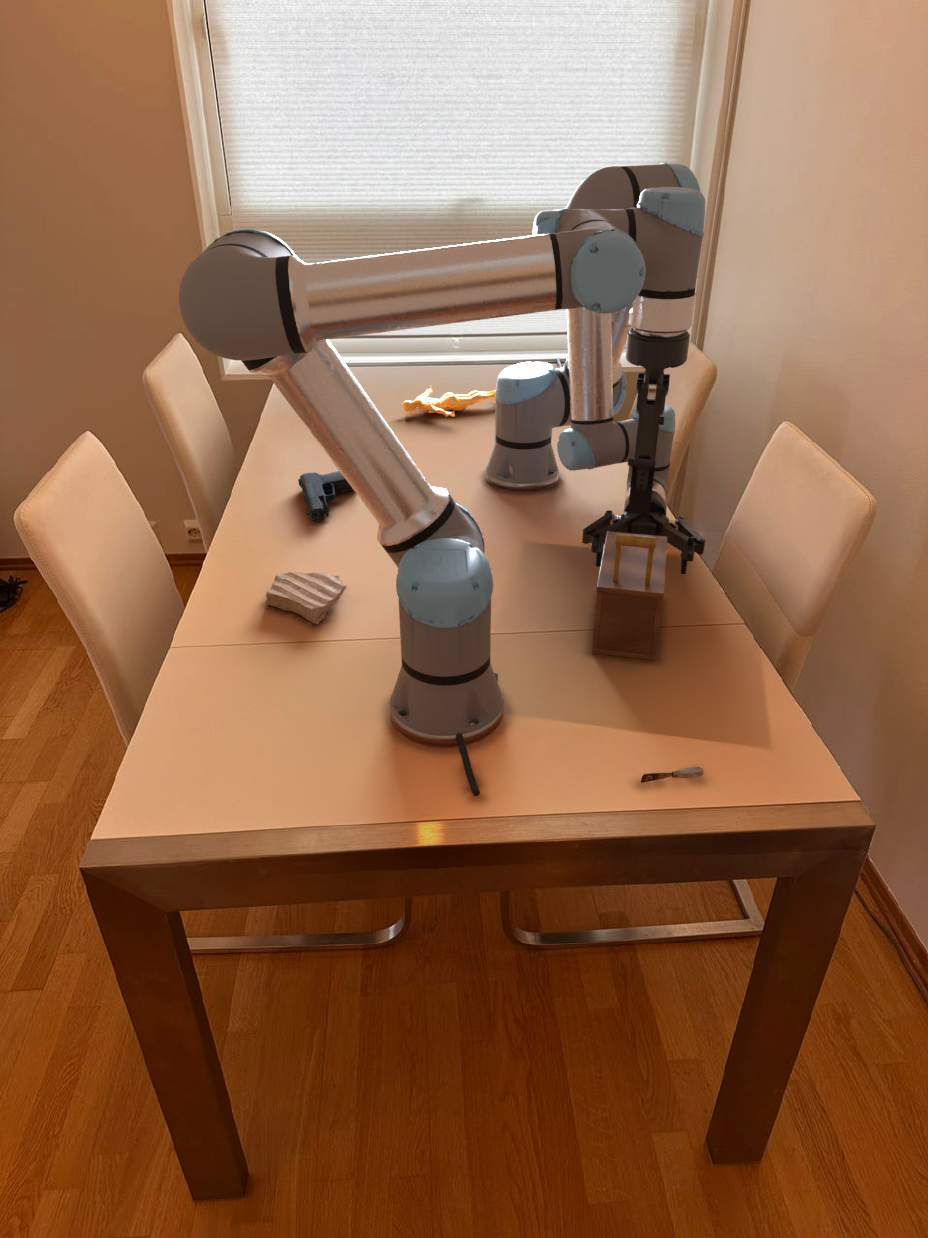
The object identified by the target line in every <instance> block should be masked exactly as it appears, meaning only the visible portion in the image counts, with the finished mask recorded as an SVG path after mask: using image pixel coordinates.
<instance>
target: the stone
mask: <svg viewBox="0 0 928 1238" xmlns="http://www.w3.org/2000/svg"><path fill="white" fill-rule="evenodd" d="M346 589H347V585H346V583H345V582H343V580H341V579H340V575H332V574H329V573H326V572H320V571H318V572H315V571H314V572H308V573H306V572H300V571H289V572H287V573H281V572H279V573H277V574H275V576H274V579H273V581H272V584H271V587H270V590H268V591H267V592H266V594H265V597H266V600H265V604H266V605H267V606H268V605H269V606H271V607H275V608H278V609H281V610H282V611H289V612H292V613H296V614H297V615H299V616H301V617H302V618H304V619H305V620H307V621H309V622H311V623H312V624H315V625H319V624H320V622H321V621H323V620H324V619H325V618H326V615H327V612H328V611H329V609H330V607H332V606H333V605H334V603H335V602H336V601H338V600H339V599H340V598H341V596H342V595H343V593H344V591H345V590H346Z"/></svg>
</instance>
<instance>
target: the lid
mask: <svg viewBox="0 0 928 1238" xmlns="http://www.w3.org/2000/svg"><path fill="white" fill-rule="evenodd" d="M667 551H668V543H667V537H665V536H654V535H643V534H632V533H621V532H610V531H607V535H606V541H605V544H604V546H603V553H602V560H601V566H600V567H599V574H598V579H597V582H596V583H597V584H596V590H595V591H596V593H597V592H598V593H608V594H617V595H627V596H636V597H646V598H656V599H663V600H664V597H665V586H666V585H665V584H666V567H667Z"/></svg>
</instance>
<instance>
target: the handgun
mask: <svg viewBox="0 0 928 1238" xmlns="http://www.w3.org/2000/svg"><path fill="white" fill-rule="evenodd" d="M298 486H299V487H300V488H301V490H302V493H303V497H304V500H305V503H306V506H307V509H308V511H307V512H306V515H307V516H310V519H311V520H312V521H314V522H322V521H324V520H325V515H326V517H329V506H328V503H329V502H334V501H336V494H341V493H346V492H350V491H354V490H353V488H352V487H351V486H350V484H349V483H348V482H347V480H346V479H345V477H344V476H343V475H342V473H341V472H340V471H339V470H336V471H333V472H329V473H325V474H320V473H318V472H316V471H315V472H305V473H303V474H301V475H300V476H299V478H298Z"/></svg>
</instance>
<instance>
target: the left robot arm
mask: <svg viewBox="0 0 928 1238" xmlns="http://www.w3.org/2000/svg"><path fill="white" fill-rule="evenodd" d="M705 216H706V198H705V196H704V194H703V193H702V192H701V191H700V192H699V191H698V190H695V189H690V188H682V187H659V188H648V189H645V190H644V191H642V193H641V194H640V199H639V202H638V203H637V208H630V209H567V208H566V207H562V208H561V209H550V210H541V211H539V212H538V213H537V214H536V215H535V218H534V221H533V224H532V235H526V236H525V235H524V236H518V237H512V238H511V237H510V238H509V237H508V238H502V239H496V240H495V239H493V240H487V241H486V240H485V241H478V242H471V243H463V244H456V245H447V246H439V247H431V248H423V249H416V250H408V251H400V252H399V251H398V252H393V253H384V254H377V255H376V254H375V255H367V256H360V257H353V258H345V259H337V260H336V259H335V260H330V261H321V262H313V263H306V262H304V261H303V260H301V259H300V258H299V257H298V256H297V255H296V254H295V252H294V251H293V250H292V248H291V247H290V246H289V245H288V244H287V243H286V242H285V241H283V240H282V239H281V238H279V237H278V236H276V235H275V234H273V233H271V232H268V231H265V230H262V229H255V228H242V229H237V230H236V229H235V230H232V231H228V232H226V233H225V234H223V235H221V236H220V237H216V238H215V240H214V241H213V242H212V243H210V244H209V245H208V246H207V247H206V248H205V249H204V250H203V251H202V252H201V254H199V255H198V256H197V257H196V258H194V259H193V260H192V261H191V262H190V264H189V265H188V267H187V268H186V269H185V271H184V273H183V276H182V278H181V280H180V284H179V290H178V306H179V311H180V315H181V319H182V321H183V323H184V325H185V328H186V330H187V331H188V332H189V334H190V336H191V337H192V338H193V339H194V340H195V341H196V343H198V344H199V345H200V346H201V347H203V349H205V350H206V351H208V352H210V353H211V354H213V355H215V356H217V357H220V358H223V359H227V360H232V361H240V362H241V363H242V364H243V365H244V367H245V368H246V369H247V370H248V371H249V372H250V373H252V374H258V375H264V376H266V377H269V379H270V380H271V382H272V383H273V384H274V385H275V387H276V388H277V390H279V392H280V394H281V395H282V396H283V398H284V400H286V401H287V403H288V404H289V406H290V407H291V408H292V409H293V411H294V412H295V414H296V415H297V417H298V418H299V419H300V421H301V422H302V423H303V424H304V425H305V427H306V429H307V430H308V432H310V434H311V435H312V436H313V437H314V439H315V440H316V442H317V443H318V445H320V447H321V448H322V449H323V451H324V452H325V453H326V455H327V456H328V457H329V459H330V460H331V461H332V463H333V464H334V466H335V467H336V468H337V469H338V471H340V472H341V473H342V475H343V476H344V477H345V479H346V480H347V482H348V483H349V484H350V486H351V487H352V488H353V490H352V491H354V492H355V494H356V495H357V496H358V498H359V499H360V500H361V502H362V503H363V505H364V506H365V507H366V508H367V510H368V511H369V512H370V514H371V515H372V517H373V518H374V519H375V520H376V522H377V524H378V528H377V535H376V539H377V541H378V543H379V544H380V546H381V547H382V548H383V549H384V551H385V552H386V553H387V555H388V556H389V558H390V559H391V560H392V561H393V563H394V564H395V565H396V567H397V574H396V580H395V587H396V588H395V589H396V595H397V597H398V614H399V615H398V616H399V633H400V634H399V635H400V652H401V653H400V655H401V667H400V669H399V672H398V675H397V678H396V681H395V684H394V687H393V690H392V693H391V695H390V700H389V706H390V718H391V721H392V724H393V725H394V727H395V728H396V729H397V731H398V732H399V733H400V734H402V735H403V736H404V737H406V738H407V739H409V740H411V741H413V742H415V743H417V744H420V745H421V744H422V745H425V746H430V747H437V748H454V747H455V748H457V747H458V750H459V751H458V752H459V754H460V758H461V761H462V765H463V769H464V773H465V776H466V779H467V782H468V785H469V788H470V791H471V794H472V796H474V797H479V796H480V794H481V791H480V787H479V785H478V783H477V782H478V781H477V779H476V777H475V774H474V771H473V766H472V764H471V760H470V755H469V752H468V749H467V745H471V744H473V743H476V742H480V741H481V740H483V739H485V738H486V737H488V736H489V735H491V734H492V733H493V732H494V731H495V730H496V729H498V727H499V726H500V724H501V722H502V720H503V717H504V702H505V701H504V696H503V695H504V694H503V693H502V690H501V687H500V685H499V674H498V673H496V672H494V668H493V666H492V664H491V654H492V653H491V651H492V649H491V648H492V647H491V645H492V643H491V642H492V641H491V640H492V595H493V589H494V580H493V573H492V569H491V564H490V562H489V559H488V557H487V556H486V554H485V553H486V552H485V549H486V548H485V547H486V546H485V539H484V537H483V532H482V529H481V527H480V525H479V523H478V522H477V520H476V519H475V517H474V516H473V515H472V513H471V512H470V511H469V510H468V509H467V508H465V506H463V505H461V504H459V503H457V502H456V501H455V500H454V497H452V495H451V494H450V492H449V491H448V490H447V488H443V487H439V486H438V487H437V486H431V485H430V483H429V482H428V480H427V479H426V478H425V476H424V474H423V473H422V472H421V470H420V469H419V467H418V466H417V464H416V463H415V461H414V460H413V458H412V457H411V456H410V455H409V453H408V452H407V450H406V448H405V447H404V446H403V444H402V442H401V441H400V440H399V439H398V437H397V435H396V434H395V433H394V431H393V430H392V428H391V427H390V426H389V424H388V422H386V420H385V418H384V417H383V415H382V414H381V413H380V411H379V410H378V409H377V407H376V406H375V404H374V403H373V401H372V400H371V398H370V396H368V394H367V392H366V391H365V390H364V388H363V387H362V385H361V384H360V382H359V381H358V379H357V378H356V377H355V375H354V374H353V373H352V371H351V369H350V368H349V366H348V365H347V364H346V362H345V361H344V360H343V358H342V357H341V355H340V354H339V353H338V350H337V349H336V348H335V347H334V345H333V344H332V342H331V341H330V340H335V339H342V338H351V337H357V336H364V335H365V336H367V335H372V334H380V333H381V334H382V333H388V332H396V331H403V330H404V331H405V330H411V329H420V328H428V327H434V326H442V325H451V324H459V323H465V322H467V323H468V322H474V321H483V320H489V319H499V318H504V317H512V316H514V317H515V316H520V315H528V314H537V313H545V312H552V311H561V310H567V309H572V308H580V307H584V308H586V309H588V310H591V311H594V312H598V313H603V314H608V313H614V312H618V311H620V310H622V309H624V308H626V307H628V308H631V310H630V314H629V325H630V326H631V327H632V328H631V329H630V330H629V331H628V332H627V343H626V345H625V353H624V354H625V355H624V356H625V360H626V361H627V362H628V363H629V364H631V365H633V366H636V367H642V368H644V372H638V374H637V379H636V387H635V388H636V389H635V390H636V394H637V396H636V397H637V398H636V406H635V408H636V412H637V414H639V421H638V430H637V439H636V448H635V457H634V459H628V462H627V466H628V467H629V466H633V467H632V477H631V487H630V497H629V506H628V512H632V513H644V514H649V513H650V504H651V496H652V487H653V478H654V470H655V464H656V460H655V456H656V447H657V439H658V430H659V425H664V417H660V416H661V415H663V413H664V408H665V404H666V398H667V396H668V394H669V389H670V378H671V374H669V373H668V374H667V373H665V370H666V369H669V368H671V369H674V368H678V367H681V366H683V365H684V364H685V363H686V362H687V360H688V355H689V346H690V339H691V334H690V333H689V331H688V330H690V328H692V326H693V320H694V311H695V303H696V297H697V296H696V295H697V293H696V289H697V288H696V287H697V286H696V285H697V279H698V272H699V265H700V260H701V253H702V246H703V239H704V237H705V231H704V230H705Z"/></svg>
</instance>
